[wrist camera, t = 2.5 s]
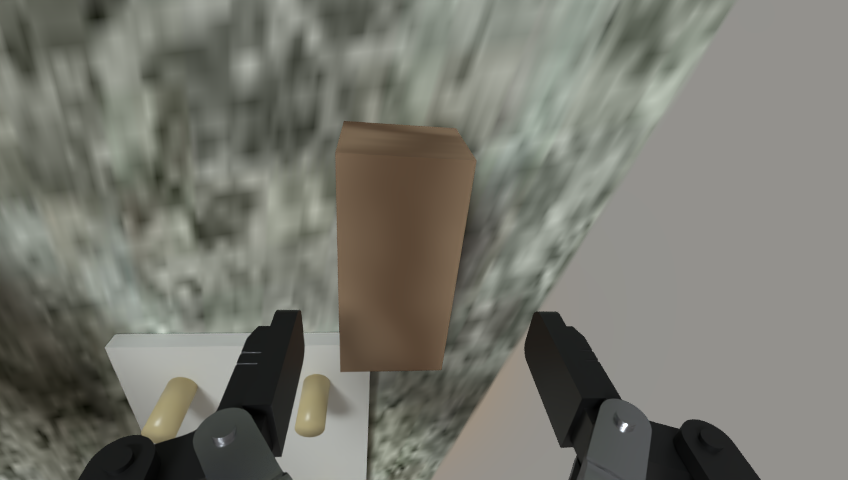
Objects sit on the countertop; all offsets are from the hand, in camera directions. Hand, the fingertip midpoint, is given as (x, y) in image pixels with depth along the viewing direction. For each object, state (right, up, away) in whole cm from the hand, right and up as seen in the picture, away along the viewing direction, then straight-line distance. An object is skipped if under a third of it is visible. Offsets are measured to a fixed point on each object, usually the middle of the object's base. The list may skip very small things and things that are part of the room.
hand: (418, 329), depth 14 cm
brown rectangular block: (-1, +4, +7) cm, 8 cm away
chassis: (-11, -11, +14) cm, 21 cm away
